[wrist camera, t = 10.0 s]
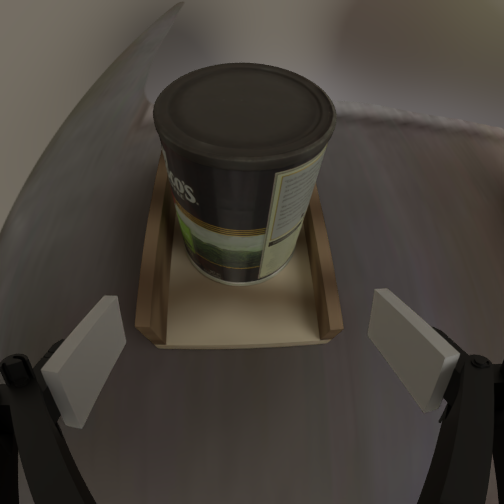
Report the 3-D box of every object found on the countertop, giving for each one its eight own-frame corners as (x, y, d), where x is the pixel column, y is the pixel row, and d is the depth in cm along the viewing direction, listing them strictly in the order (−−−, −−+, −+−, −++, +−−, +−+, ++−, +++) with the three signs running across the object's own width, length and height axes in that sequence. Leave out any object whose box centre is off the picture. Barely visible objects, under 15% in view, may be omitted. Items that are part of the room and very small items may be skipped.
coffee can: (197, 302, 24) (162, 180, 12) (174, 204, 29) (148, 75, 17) (315, 269, 26) (372, 144, 14) (274, 182, 31) (293, 57, 19)
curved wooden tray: (326, 343, 25) (353, 320, 19) (158, 348, 24) (134, 326, 18) (298, 168, 35) (307, 123, 29) (175, 169, 34) (167, 124, 28)
